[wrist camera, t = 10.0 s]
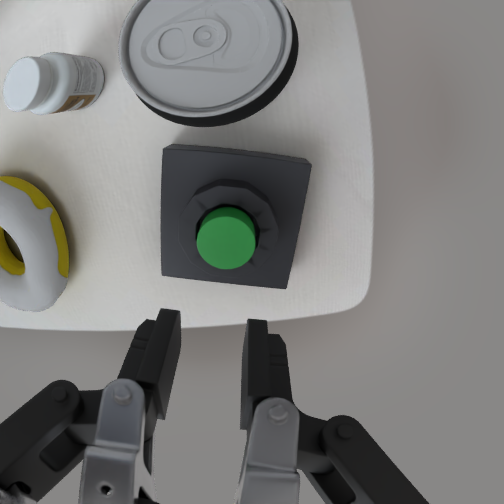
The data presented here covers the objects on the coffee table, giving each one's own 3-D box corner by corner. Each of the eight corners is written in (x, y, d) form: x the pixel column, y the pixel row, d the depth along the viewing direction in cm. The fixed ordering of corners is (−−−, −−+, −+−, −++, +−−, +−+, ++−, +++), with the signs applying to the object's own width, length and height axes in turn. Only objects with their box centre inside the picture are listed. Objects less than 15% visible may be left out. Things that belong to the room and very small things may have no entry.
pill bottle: (61, 113, 18) (-2, 125, 12) (62, 63, 16) (0, 60, 9) (104, 106, 18) (44, 113, 12) (107, 53, 16) (49, 40, 10)
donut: (-26, 185, 20) (-56, 201, 16) (54, 151, 20) (18, 165, 15) (13, 293, 27) (-8, 317, 22) (96, 290, 26) (75, 322, 22)
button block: (170, 143, 20) (154, 152, 17) (306, 158, 21) (317, 170, 17) (167, 262, 25) (155, 288, 21) (283, 275, 25) (288, 303, 22)
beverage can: (282, 110, 19) (320, 114, 9) (190, 126, 20) (124, 150, 9) (267, 27, 16) (286, -53, 6) (175, 43, 17) (100, -10, 6)
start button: (202, 203, 19) (197, 213, 17) (258, 210, 19) (259, 220, 17) (199, 253, 20) (195, 266, 19) (251, 259, 21) (251, 272, 19)
